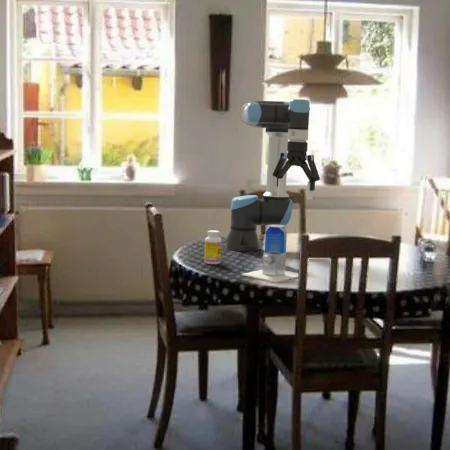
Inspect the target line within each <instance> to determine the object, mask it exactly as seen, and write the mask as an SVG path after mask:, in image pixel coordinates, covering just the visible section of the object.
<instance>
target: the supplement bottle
mask: <svg viewBox="0 0 450 450" xmlns="http://www.w3.org/2000/svg"><path fill="white" fill-rule="evenodd" d="M222 242H223V241H222V238H221V237H220V231H219V230H215V229H214V230H212V229H211V230H207V237H205V238H204V256H203V257H204V259H203V262H204V264H208V265H219V264H221V262H222Z"/></svg>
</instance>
